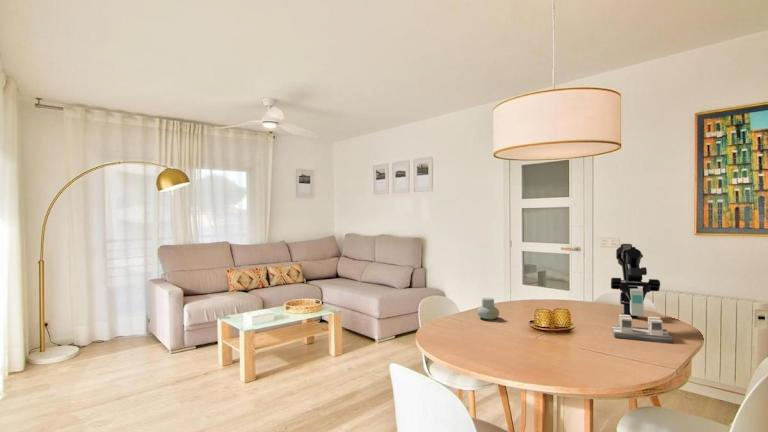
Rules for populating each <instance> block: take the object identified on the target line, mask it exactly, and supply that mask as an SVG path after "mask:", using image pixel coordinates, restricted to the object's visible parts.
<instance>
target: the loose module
mask: <svg viewBox="0 0 768 432" xmlns="http://www.w3.org/2000/svg"><path fill="white" fill-rule="evenodd" d="M630 295H631V300H630V313H631V315H635V316H639V317H644V313H645V312H644V310H645V309H644V301H643V288H638V289H637V288H630Z"/></svg>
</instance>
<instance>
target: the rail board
mask: <svg viewBox="0 0 768 432" xmlns="http://www.w3.org/2000/svg"><path fill="white" fill-rule="evenodd" d="M663 324H664V323H663V320H662V319H661V317H660V316H659V317H657V316H647V327H642V326H633V318H631V316H630V315H622V313H621V314H619V325H618V324H611V330H612V333H613V337H614V338H615V339H623V340H633V341H644V342H655V343H663V344H664V343H665V344H674V340H673V336H671V335H670V333H669V332H668V330H667V329H666V328H663Z"/></svg>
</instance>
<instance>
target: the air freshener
mask: <svg viewBox="0 0 768 432" xmlns="http://www.w3.org/2000/svg"><path fill="white" fill-rule="evenodd" d="M476 313H477V316H478V317H480V318H481V319H483V320H488V321H493V320H495V319H496V318H498V317H499V316H500V310H499V309H498V308H497V307H496V306H495V299H494V298H493V297H482V299H481V306H480V307H479V308H478V309H477V311H476Z"/></svg>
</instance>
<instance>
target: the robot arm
mask: <svg viewBox="0 0 768 432" xmlns="http://www.w3.org/2000/svg"><path fill="white" fill-rule="evenodd" d="M643 258H644V255H643V253H642V252H641V250H640V249H638V248H636V246H633V244H631V243H621V244H620V247H618V248H617V249H616V252H615V259H616V260H617V263H618V264H619V265H620V266H621V268H622V271H621V272H622V277H623V279H622V277H611V279H610V289H611V290H620V291H621V292H619V293H620V295H619V303H620V305H621V306H622V305H623V313H621V315H630V316H631V318H632V319H640V316H635V315H631V313H630V300H631V295H630V288H637V289H639V287H641V288H642V290H643V302H644V301H645V299H646V295H647V293H650V292H660V288H661V281H660V280H659V279H658V278H654V279H653V278H648V281H643V276H647V273H648V272H647V271H648V270H647V267H643V266H642V267H640V265H641V260H642V259H643Z"/></svg>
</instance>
